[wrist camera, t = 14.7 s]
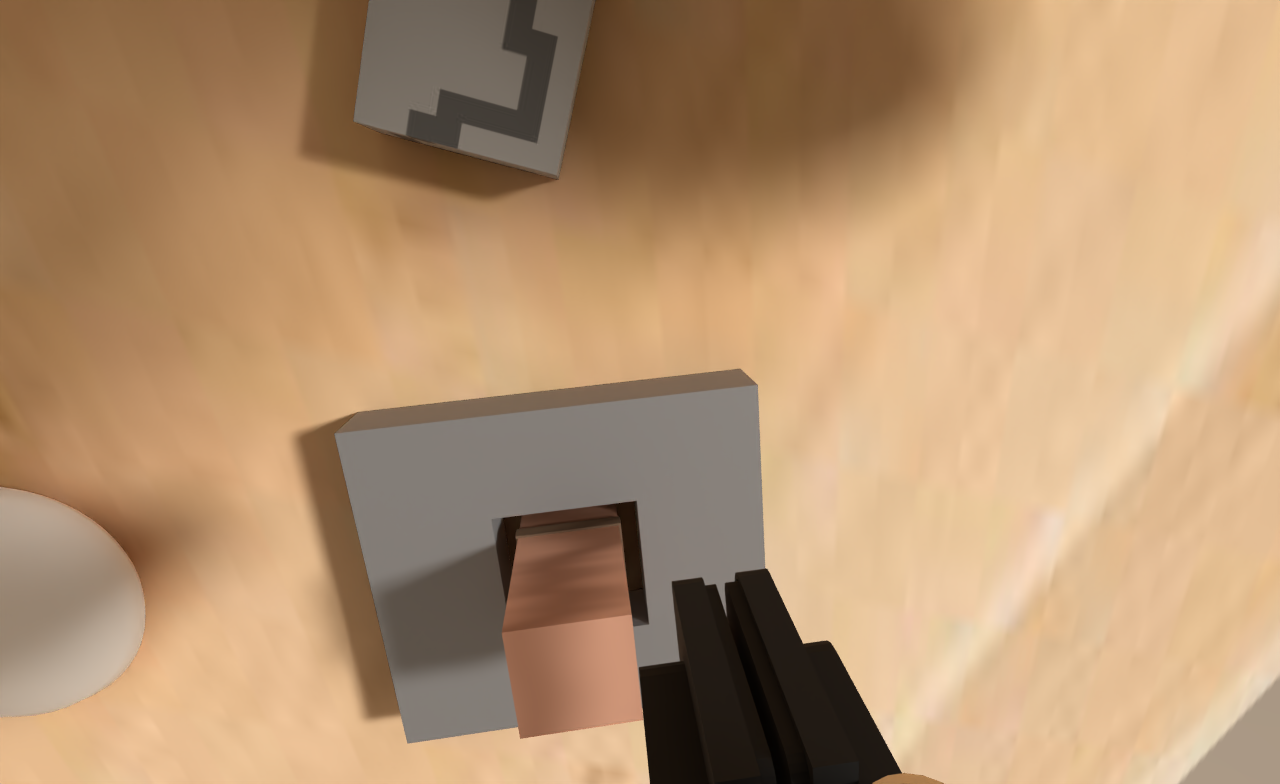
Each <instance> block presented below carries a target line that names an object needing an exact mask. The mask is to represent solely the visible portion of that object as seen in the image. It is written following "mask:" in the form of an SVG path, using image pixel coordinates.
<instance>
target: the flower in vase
mask: <svg viewBox="0 0 1280 784" xmlns="http://www.w3.org/2000/svg"><path fill="white" fill-rule="evenodd" d="M145 616H146V614H145V600H144V592H143V588H142V585H141V581H140V578H139V576H138V573H137V571H136V569H135V567H134V565H133V563H132V562H131V560H130V558H129V557H128V555H127V554H126V552H125V551H124V550H123V548H122V547H121V546H120V545H119V543H118V542H117V541H116V540H115V539H114V538H113V537H112V536H111V535H110V534H109V533H108V532H107V531H106V530H105V529H104V528H102V527H101V526H100V525H99V524H97V523H96V522H95V521H94V520H92V519H91V518H89V517H88V516H86V515H84V514H83V513H81V512H80V511H78V510H76V509H74V508H72V507H70V506H68V505H66V504H64V503H62V502H60V501H57V500H54V499H52V498H49V497H47V496H43V495H40V494H36V493H32V492H29V491H24V490H18V489H12V488H5V487H0V717H21V716H33V715H39V714H44V713H50V712H53V711H56V710H60V709H63V708H66V707H68V706H70V705H73V704H75V703H77V702H79V701H81V700H84V699H86V698H88V697H90V696H92V695H94V694H96V693H98V692H99V691H101V690H103V689H104V688H106V687H108V686H109V685H110V684H111V683H113V682H114V681H115V680H116V679H118V678H119V677H120V676H121V675H122V673H123V672H124V671H125V670H126V669H127V668H128V667H129V665H130V664H131V662H132V661H133V659H134V658H135V656H136V654H137V652H138V649H139V647H140V645H141V642H142V638H143V634H144V630H145Z"/></svg>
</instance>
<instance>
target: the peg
mask: <svg viewBox="0 0 1280 784" xmlns="http://www.w3.org/2000/svg"><path fill="white" fill-rule="evenodd" d="M515 538H516V544H517V547H516V552H515V558H514V564H513V570H512V576H511V581H510V587H509V593H508V599H507V605H506V610H505V616H504V622H503V628H502V638H503V643H504V649H505V655H506V660H507V666H508V672H509V677H510V683H511V689H512V694H513V700H514V706H515V711H516V717H517V723H518V729H519V734H520V739H521V738H528V737H534V736H541V735H547V734H554V733H560V732H567V731H574V730H580V729H587V728H593V727H600V726H606V725H613V724H620V723H626V722H633V721H639V720H643V714H642V704H641V695H640V686H639V677H638V668H637V659H636V649H635V640H634V631H633V622H632V613H631V606H630V599H629V593H628V585H627V576H626V567H625V557H624V548H623V539H622V530H621V521H620V516H617V510H616V503H614V504H606V505H599V506H591V507H583V508H575V509H567V510H559V511H551V512H543V513H535V514H527V515H522V517H521V523H520V529H517V530H516V536H515Z"/></svg>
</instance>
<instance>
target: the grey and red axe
mask: <svg viewBox="0 0 1280 784" xmlns="http://www.w3.org/2000/svg"><path fill="white" fill-rule="evenodd" d="M594 5H595V0H369V4H368V11H367V19H366V27H365V35H364V42H363V50H362V58H361V66H360V73H359V81H358V89H357V97H356V104H355V112H354V120H353V121H354V122H356V123H358V124H361V125H363V126H365V127H368V128H370V129H372V130H375V131H377V132H380V133H383V134H387V135H391V136H394V137H398V138H402V139H406V140H410V141H413V142H417V143H421V144H425V145H429V146H432V147H436V148H440V149H444V150H447V151H451V152H455V153H459V154H463V155H466V156H470V157H474V158H478V159H482V160H485V161H489V162H493V163H497V164H501V165H504V166H508V167H512V168H516V169H520V170H523V171H527V172H531V173H535V174H539V175H542V176H546V177H550V178H554V179H558V180H559V175H560V170H561V165H562V160H563V155H564V151H565V146H566V141H567V136H568V131H569V126H570V122H571V117H572V112H573V107H574V102H575V97H576V92H577V88H578V83H579V78H580V73H581V68H582V63H583V59H584V54H585V49H586V44H587V39H588V34H589V29H590V25H591V20H592V15H593V10H594Z"/></svg>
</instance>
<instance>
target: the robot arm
mask: <svg viewBox="0 0 1280 784" xmlns="http://www.w3.org/2000/svg"><path fill="white" fill-rule="evenodd" d="M672 594H673V603H674V613H675V622H676V631H677V641H678V650H679V659H680V661H678V662H671V663H664V664H657V665H650V666H643V667H639V677H640V687H641V697H642V707H643V717H644V727H645V737H646V747H647V757H648V767H649V777H650V784H944V783H942V782H939V781H937V780H934V779H931V778H929V777H926V776H923V775H915V774H907V773H902V772H901V770H900V769H899V767H898V765H897V763H896V761H895V759H894V757H893V756H892V754H891V752H890V750H889V748H888V746H887V744H886V743H885V741H884V739H883V737H882V735H881V733H880V732H879V730H878V728H877V726H876V724H875V722H874V720H873V719H872V717H871V715H870V713H869V711H868V709H867V707H866V706H865V704H864V702H863V700H862V698H861V696H860V694H859V693H858V691H857V689H856V687H855V685H854V683H853V681H852V680H851V678H850V676H849V674H848V672H847V670H846V668H845V667H844V665H843V663H842V661H841V659H840V657H839V655H838V654H837V652H836V650H835V648H834V647H833V645H832V644H831V643H830V642H829V641H820V642H813V643H806V644H803V643H802V640H801V638H800V636H799V634H798V632H797V630H796V628H795V626H794V624H793V621H792V619H791V617H790V615H789V613H788V611H787V609H786V607H785V605H784V602H783V600H782V598H781V596H780V594H779V592H778V590H777V588H776V586H775V583H774V581H773V579H772V577H771V575H770V573H769V571H768V570H767V569H766V568H765V569H758V570H751V571H743V572H736V573H735V581H734V582H726V583H725V601H726V613H725V610H724V607H723V604H722V601H721V598H720V595H719V592H718V589H717V586H716V584H712V585H705V583H704V580H703V578H702V577H699V578H692V579H685V580H677V581H672ZM726 614H727V616H726Z"/></svg>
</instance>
